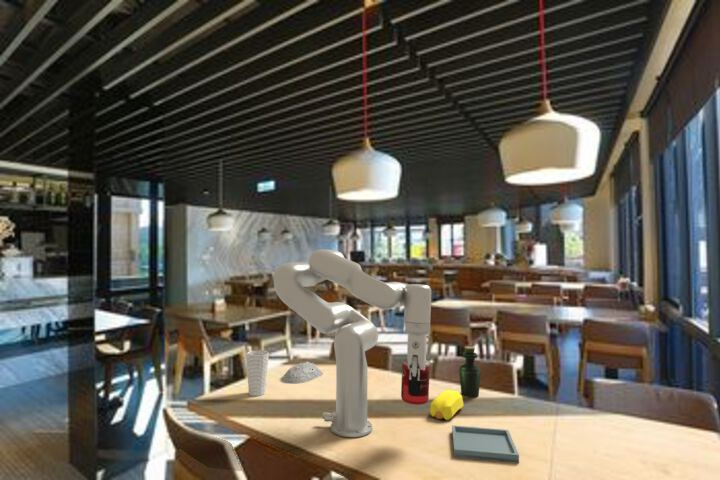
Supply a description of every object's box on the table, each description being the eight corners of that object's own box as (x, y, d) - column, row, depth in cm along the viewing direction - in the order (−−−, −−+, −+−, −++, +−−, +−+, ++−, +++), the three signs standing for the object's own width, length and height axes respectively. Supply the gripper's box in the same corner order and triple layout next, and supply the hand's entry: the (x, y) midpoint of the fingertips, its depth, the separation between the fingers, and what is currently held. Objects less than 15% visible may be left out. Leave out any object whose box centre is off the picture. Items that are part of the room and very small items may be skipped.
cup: (265, 397, 153) (266, 355, 154) (242, 397, 153) (243, 355, 154) (270, 390, 161) (271, 350, 162) (249, 390, 161) (249, 350, 162)
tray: (454, 457, 108) (454, 449, 108) (452, 432, 123) (452, 425, 124) (519, 463, 105) (518, 455, 105) (508, 436, 120) (508, 429, 121)
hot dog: (466, 407, 145) (445, 403, 149) (466, 388, 145) (445, 384, 149) (449, 424, 130) (426, 419, 134) (449, 403, 130) (426, 398, 134)
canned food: (410, 393, 123) (411, 356, 123) (433, 400, 118) (435, 361, 118) (395, 399, 117) (396, 360, 117) (419, 407, 112) (421, 366, 112)
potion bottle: (477, 391, 162) (477, 345, 163) (483, 398, 154) (483, 349, 155) (456, 391, 162) (456, 345, 163) (461, 398, 154) (461, 349, 155)
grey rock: (329, 370, 191) (328, 355, 191) (305, 388, 168) (303, 372, 168) (300, 370, 196) (298, 356, 197) (272, 388, 173) (270, 372, 173)
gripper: (429, 334, 109) (427, 401, 108) (430, 323, 126) (428, 381, 125) (401, 332, 110) (399, 398, 110) (406, 322, 127) (404, 379, 127)
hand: (414, 389), depth 117 cm, fingers closed on canned food, 8 cm apart
